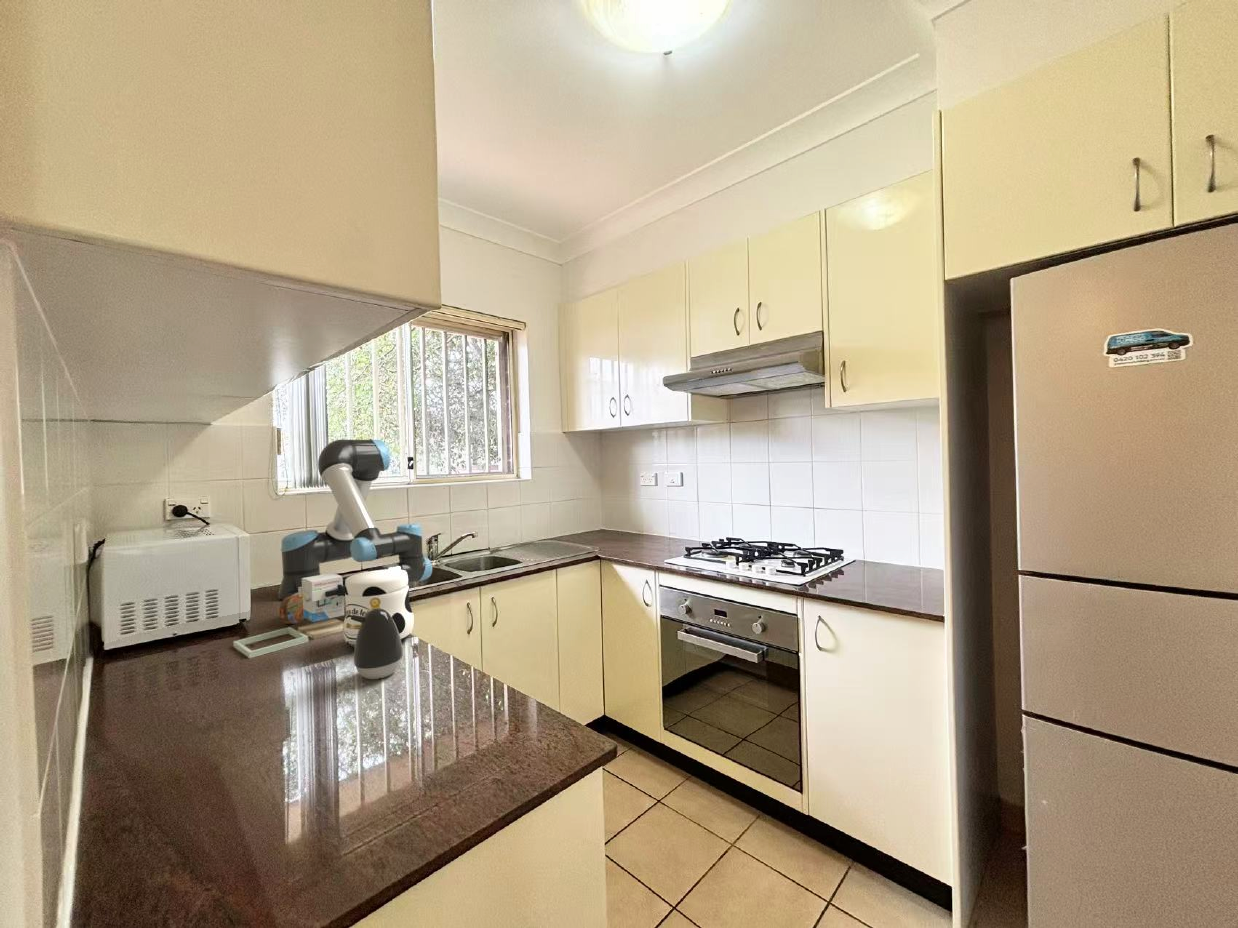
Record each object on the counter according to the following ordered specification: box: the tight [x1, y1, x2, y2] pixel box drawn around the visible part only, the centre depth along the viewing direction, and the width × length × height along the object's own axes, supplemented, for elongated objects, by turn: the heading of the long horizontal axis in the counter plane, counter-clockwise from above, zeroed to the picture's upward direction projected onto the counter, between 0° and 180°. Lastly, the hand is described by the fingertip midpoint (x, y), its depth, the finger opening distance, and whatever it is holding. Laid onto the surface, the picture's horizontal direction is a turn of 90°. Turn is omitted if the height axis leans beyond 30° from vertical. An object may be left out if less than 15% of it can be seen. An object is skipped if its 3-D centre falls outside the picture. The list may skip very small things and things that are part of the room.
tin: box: [279, 592, 306, 625], centre depth 161 cm, size 15×3×8 cm, turn 179°
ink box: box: [302, 572, 345, 623], centre depth 150 cm, size 9×8×12 cm
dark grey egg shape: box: [351, 608, 404, 680], centre depth 117 cm, size 10×10×15 cm
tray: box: [233, 626, 309, 659], centre depth 140 cm, size 14×14×2 cm
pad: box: [297, 617, 344, 640], centre depth 150 cm, size 12×10×1 cm
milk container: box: [342, 569, 415, 649], centre depth 138 cm, size 17×17×18 cm
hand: (305, 594), depth 146 cm, fingers closed on ink box, 9 cm apart
